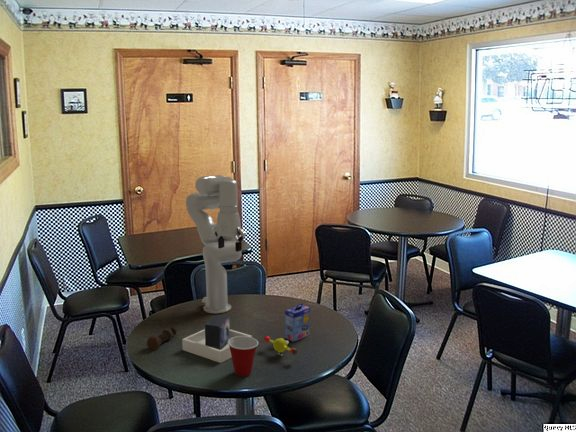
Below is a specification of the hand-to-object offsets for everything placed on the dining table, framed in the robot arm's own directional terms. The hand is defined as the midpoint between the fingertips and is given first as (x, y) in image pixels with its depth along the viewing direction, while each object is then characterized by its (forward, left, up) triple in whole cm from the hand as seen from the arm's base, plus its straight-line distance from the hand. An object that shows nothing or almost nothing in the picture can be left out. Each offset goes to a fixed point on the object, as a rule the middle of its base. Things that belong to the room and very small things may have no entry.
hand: (229, 249), depth 246 cm
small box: (+12, -22, -32) cm, 41 cm away
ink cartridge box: (+31, +5, -34) cm, 46 cm away
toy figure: (+36, -13, -34) cm, 51 cm away
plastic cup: (+34, -32, -34) cm, 57 cm away
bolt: (-10, -30, -34) cm, 46 cm away
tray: (+12, -22, -33) cm, 42 cm away
